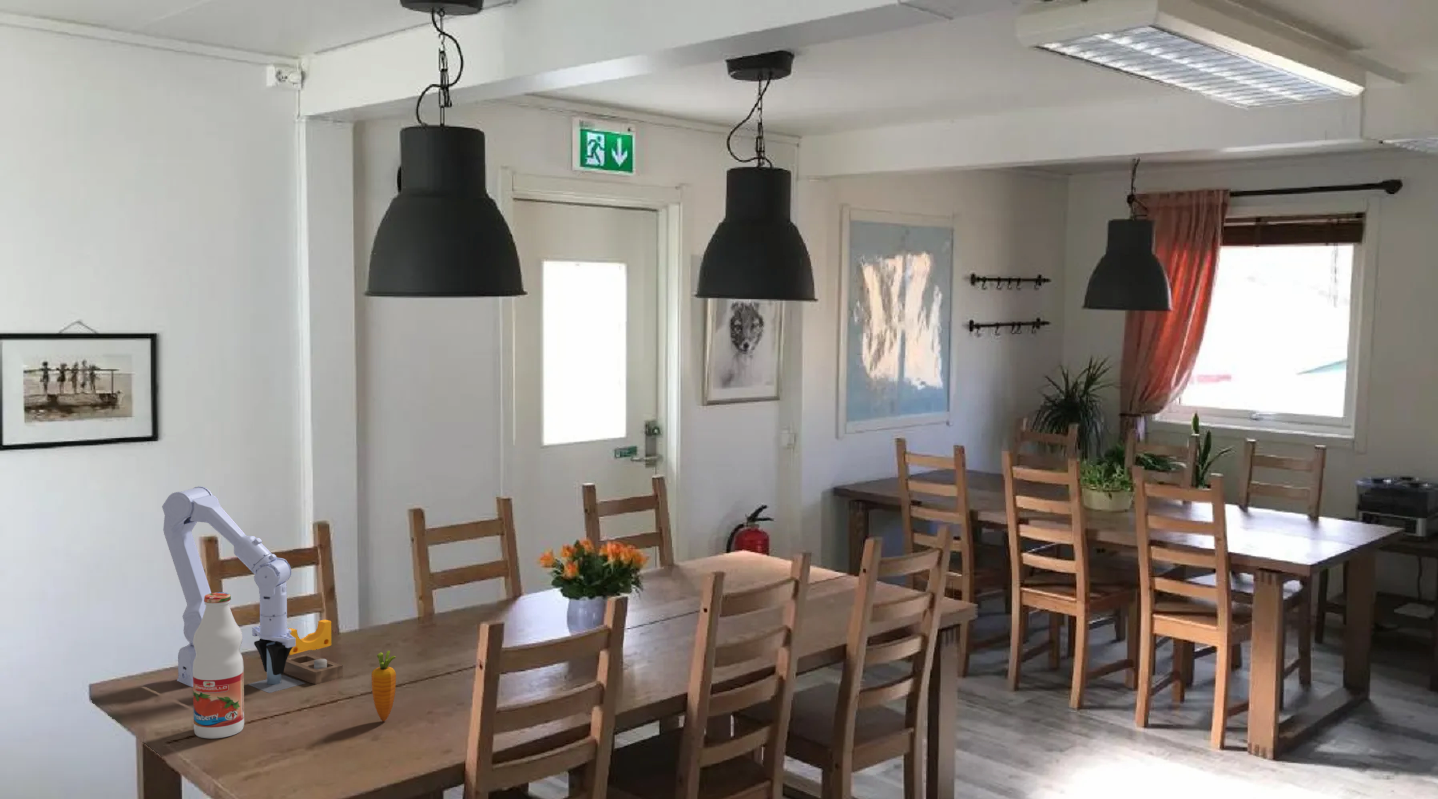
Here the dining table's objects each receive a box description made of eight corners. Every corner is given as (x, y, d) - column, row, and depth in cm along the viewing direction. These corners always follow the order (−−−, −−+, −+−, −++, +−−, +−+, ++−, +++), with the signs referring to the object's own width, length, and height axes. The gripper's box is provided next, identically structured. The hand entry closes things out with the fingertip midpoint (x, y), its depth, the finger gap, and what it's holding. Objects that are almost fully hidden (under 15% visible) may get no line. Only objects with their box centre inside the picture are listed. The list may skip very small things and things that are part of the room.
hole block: (315, 686, 266) (315, 667, 265) (281, 673, 274) (281, 654, 274) (342, 678, 271) (342, 660, 271) (308, 666, 280) (308, 648, 279)
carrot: (386, 715, 248) (386, 646, 247) (401, 721, 245) (401, 650, 243) (366, 721, 244) (366, 651, 243) (380, 727, 241) (380, 656, 240)
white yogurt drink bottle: (252, 724, 241) (251, 590, 239) (229, 740, 232) (228, 601, 230) (209, 721, 242) (207, 588, 240) (184, 738, 233) (182, 599, 230)
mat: (269, 694, 259) (269, 692, 259) (247, 685, 265) (247, 684, 265) (305, 684, 266) (305, 683, 266) (283, 676, 272) (283, 674, 272)
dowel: (271, 685, 264) (271, 646, 263) (264, 682, 266) (264, 644, 265) (283, 682, 266) (283, 643, 266) (276, 679, 268) (276, 641, 267)
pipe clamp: (320, 643, 299) (320, 618, 299) (331, 646, 297) (331, 621, 296) (279, 654, 290) (279, 628, 289) (290, 657, 287) (290, 631, 287)
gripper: (307, 615, 263) (308, 674, 265) (271, 604, 272) (272, 661, 273) (278, 622, 258) (279, 682, 259) (243, 610, 267) (244, 668, 268)
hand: (274, 672), depth 266 cm, fingers closed on dowel, 3 cm apart
